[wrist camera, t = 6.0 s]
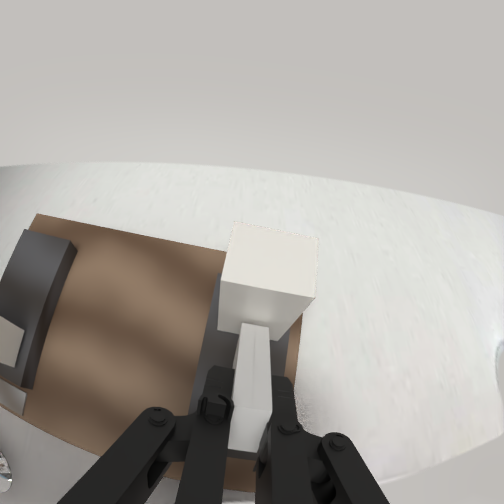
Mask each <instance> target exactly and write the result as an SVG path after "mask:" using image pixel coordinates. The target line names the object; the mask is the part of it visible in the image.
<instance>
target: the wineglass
mask: <svg viewBox="0 0 504 504" xmlns="http://www.w3.org/2000/svg"><path fill="white" fill-rule="evenodd" d="M10 486H11V472H10V468H9V466H8V463H7V461H6V459H5V458H4V456H3V454H2V453H1V452H0V492H6V491H7V490H9V489H10Z"/></svg>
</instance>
